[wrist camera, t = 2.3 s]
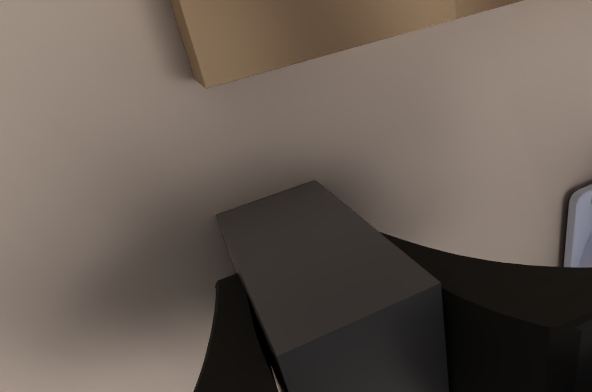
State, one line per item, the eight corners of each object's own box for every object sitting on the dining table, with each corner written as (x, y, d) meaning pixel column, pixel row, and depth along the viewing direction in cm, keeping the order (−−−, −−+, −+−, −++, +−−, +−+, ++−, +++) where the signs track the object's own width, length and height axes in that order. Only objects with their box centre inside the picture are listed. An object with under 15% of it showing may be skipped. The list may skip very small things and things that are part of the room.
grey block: (315, 180, 13) (441, 282, 7) (338, 291, 15) (452, 435, 9) (215, 215, 12) (276, 356, 7) (254, 327, 14) (325, 506, 9)
